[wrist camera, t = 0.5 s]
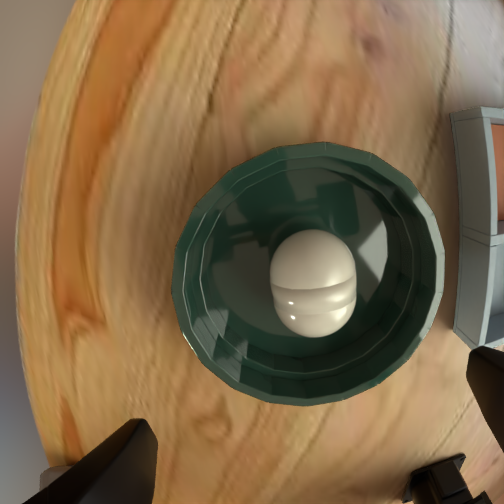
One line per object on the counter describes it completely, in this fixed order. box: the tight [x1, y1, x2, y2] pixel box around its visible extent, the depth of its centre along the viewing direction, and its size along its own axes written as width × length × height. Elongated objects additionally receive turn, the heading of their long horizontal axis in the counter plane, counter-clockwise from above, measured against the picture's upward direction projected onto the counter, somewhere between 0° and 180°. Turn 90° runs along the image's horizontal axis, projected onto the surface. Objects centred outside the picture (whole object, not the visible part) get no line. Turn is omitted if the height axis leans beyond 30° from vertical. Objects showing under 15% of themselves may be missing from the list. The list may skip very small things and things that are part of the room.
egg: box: [269, 229, 357, 338], centre depth 16 cm, size 5×4×4 cm
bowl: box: [171, 142, 445, 406], centre depth 16 cm, size 13×13×4 cm
